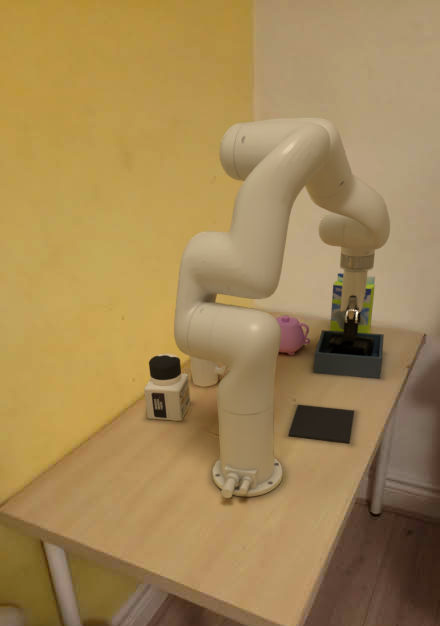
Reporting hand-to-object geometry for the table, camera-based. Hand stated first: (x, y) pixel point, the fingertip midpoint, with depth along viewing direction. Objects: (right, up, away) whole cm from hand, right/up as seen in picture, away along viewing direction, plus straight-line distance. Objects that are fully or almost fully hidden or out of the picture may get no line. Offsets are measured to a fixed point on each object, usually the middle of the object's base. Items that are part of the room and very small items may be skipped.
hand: (351, 329), depth 132 cm
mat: (-11, -22, -20) cm, 32 cm away
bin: (0, -8, +4) cm, 9 cm away
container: (-43, -20, -13) cm, 49 cm away
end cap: (0, -8, +4) cm, 9 cm away
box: (+4, 0, +18) cm, 18 cm away
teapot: (-16, -4, +13) cm, 21 cm away
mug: (-34, -13, -2) cm, 37 cm away
